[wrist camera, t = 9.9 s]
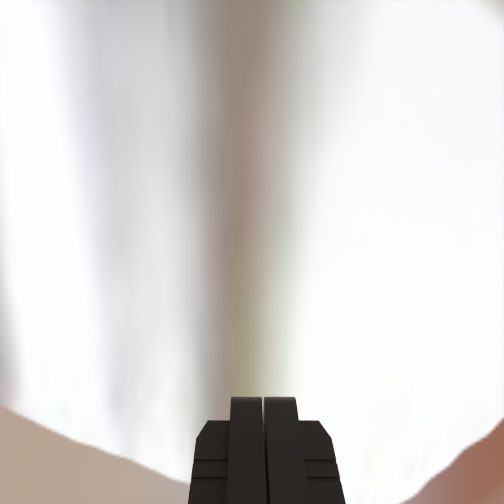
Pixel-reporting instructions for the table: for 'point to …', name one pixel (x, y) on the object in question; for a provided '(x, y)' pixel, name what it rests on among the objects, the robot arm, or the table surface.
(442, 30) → the table surface
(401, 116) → the table surface
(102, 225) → the table surface
